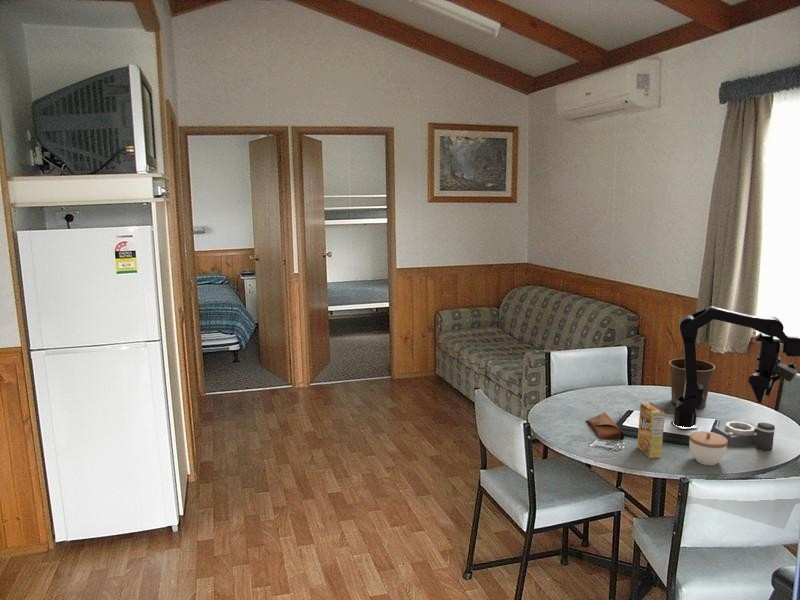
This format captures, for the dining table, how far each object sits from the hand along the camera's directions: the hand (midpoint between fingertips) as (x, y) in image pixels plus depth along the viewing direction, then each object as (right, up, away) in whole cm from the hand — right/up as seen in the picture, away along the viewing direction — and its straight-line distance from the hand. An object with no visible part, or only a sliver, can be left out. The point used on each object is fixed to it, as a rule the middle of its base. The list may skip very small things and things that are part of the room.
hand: (763, 399), depth 216 cm
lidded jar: (-27, -17, -17) cm, 36 cm away
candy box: (-43, -16, -10) cm, 47 cm away
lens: (-5, -15, -8) cm, 17 cm away
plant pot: (-11, -7, +33) cm, 35 cm away
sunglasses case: (-51, -13, +8) cm, 54 cm away
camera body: (-8, -13, 0) cm, 16 cm away
